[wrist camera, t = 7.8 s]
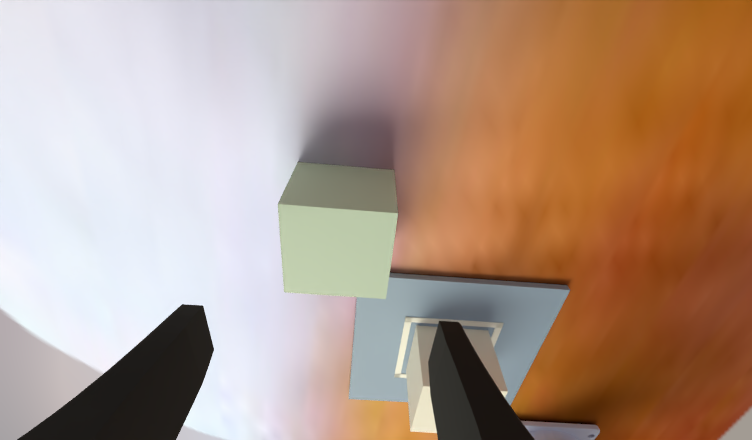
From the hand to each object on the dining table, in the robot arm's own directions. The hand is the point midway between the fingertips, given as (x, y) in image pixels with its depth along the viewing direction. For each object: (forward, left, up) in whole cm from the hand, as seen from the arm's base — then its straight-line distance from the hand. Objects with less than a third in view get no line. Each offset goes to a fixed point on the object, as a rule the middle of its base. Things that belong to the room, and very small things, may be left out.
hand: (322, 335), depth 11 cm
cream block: (-10, -7, -8) cm, 14 cm away
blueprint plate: (-10, -7, -8) cm, 15 cm away
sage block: (0, 0, -8) cm, 8 cm away
